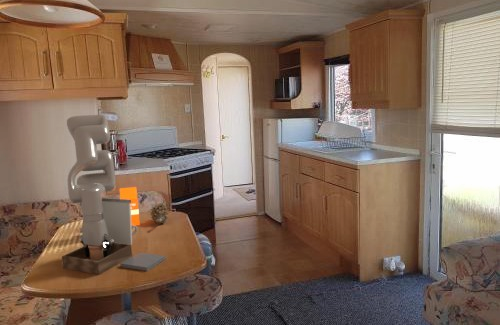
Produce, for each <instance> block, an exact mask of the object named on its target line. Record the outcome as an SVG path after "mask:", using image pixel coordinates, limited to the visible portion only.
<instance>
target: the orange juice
mask: <svg viewBox="0 0 500 325" xmlns="http://www.w3.org/2000/svg"><path fill="white" fill-rule="evenodd" d="M137 191H138V190H137V186H133V187H121V188H119V199H129V200H131V226H132V225H135V226H139V225H141V224H140V210H139V201H138V192H137Z"/></svg>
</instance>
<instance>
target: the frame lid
mask: <svg viewBox="0 0 500 325" xmlns="http://www.w3.org/2000/svg"><path fill="white" fill-rule="evenodd" d="M102 206H103V215H104V220H105V223H106V226H107V231H108V236H109V237H111V238H112V239H113V240H114V241H113V242H116V243H124V244H127V245H133V236H132V233H133V232H132V231H133V230H132V229H133V228H132V226H131V200H129V199H120V198H115V197H113V198H111V197H104V198H103V199H102Z"/></svg>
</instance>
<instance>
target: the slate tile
mask: <svg viewBox="0 0 500 325" xmlns="http://www.w3.org/2000/svg"><path fill="white" fill-rule="evenodd" d="M165 260H166V255H162V254H161V255H160V254H153V253H147V252H138V253H137V254H135V255H132V257H130V258H128V259H126V260H125V261H123V262H121V263H119V264H120V268H125V269H126V268H127V269H133V270H140V271H144V272H148V271H150V270H151V269H154V267H156V266H158V265H159V264H161V263H162V262H164V261H165ZM160 262H161V263H160ZM157 264H158V265H157Z"/></svg>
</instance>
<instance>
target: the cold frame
mask: <svg viewBox="0 0 500 325" xmlns="http://www.w3.org/2000/svg"><path fill="white" fill-rule="evenodd" d="M108 243H109V242H108ZM131 257H133V253H132V244H119V243H113V245H112V246H111V248H110V255H109V256H107V257H105V258H103V259H101V260H99V261H95V260H90V259H89V258H87V257H86V255H85V248H84V247H83V246H82V247H79V248H77V249H75V250H73V251H71V252H68V253H66V254H64V255H62V256H61V262H62V268H63V269H65V270H72V271H76V272H77V271H78V272H82V273H88V274H95V275H101V274H103V273H105V272H107V271H109V270H111V269H112V268H114V267H115V266H118V265H119V264H120V263H122V262H124V261H125V260H127V259H129V258H131ZM85 258H86V259H85Z"/></svg>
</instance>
